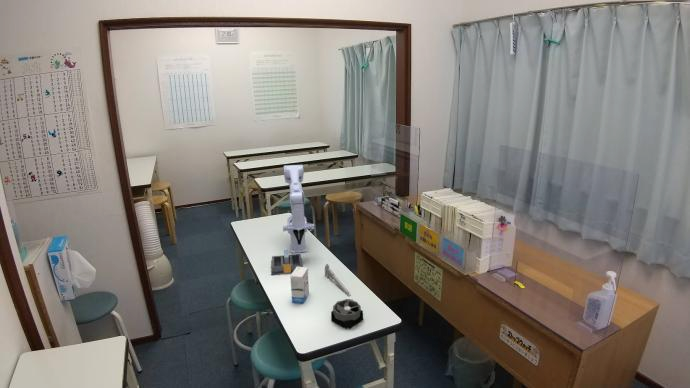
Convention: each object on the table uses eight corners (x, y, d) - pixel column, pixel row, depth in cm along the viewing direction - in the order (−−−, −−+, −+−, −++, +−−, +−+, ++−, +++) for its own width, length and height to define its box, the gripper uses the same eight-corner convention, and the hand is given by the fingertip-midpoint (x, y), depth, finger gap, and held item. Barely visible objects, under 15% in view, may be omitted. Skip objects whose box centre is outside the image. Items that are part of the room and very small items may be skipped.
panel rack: (271, 261, 192) (270, 252, 190) (301, 258, 194) (301, 250, 193) (271, 275, 179) (270, 266, 177) (303, 272, 181) (303, 263, 180)
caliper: (324, 275, 178) (324, 263, 176) (326, 275, 179) (326, 262, 177) (348, 297, 161) (348, 283, 159) (350, 296, 161) (350, 282, 160)
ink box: (303, 303, 156) (302, 277, 153) (291, 302, 157) (289, 276, 154) (309, 292, 164) (308, 266, 161) (298, 291, 165) (296, 265, 162)
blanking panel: (284, 261, 190) (283, 250, 188) (288, 261, 190) (288, 249, 189) (285, 269, 183) (284, 257, 181) (289, 268, 183) (288, 257, 181)
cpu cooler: (347, 318, 137) (327, 307, 144) (347, 332, 139) (327, 320, 146) (366, 305, 145) (346, 295, 151) (366, 319, 146) (346, 308, 153)
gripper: (282, 221, 179) (284, 248, 183) (314, 218, 182) (315, 245, 186) (282, 215, 186) (283, 242, 190) (312, 213, 188) (313, 239, 192)
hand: (299, 243), depth 188 cm, fingers closed
